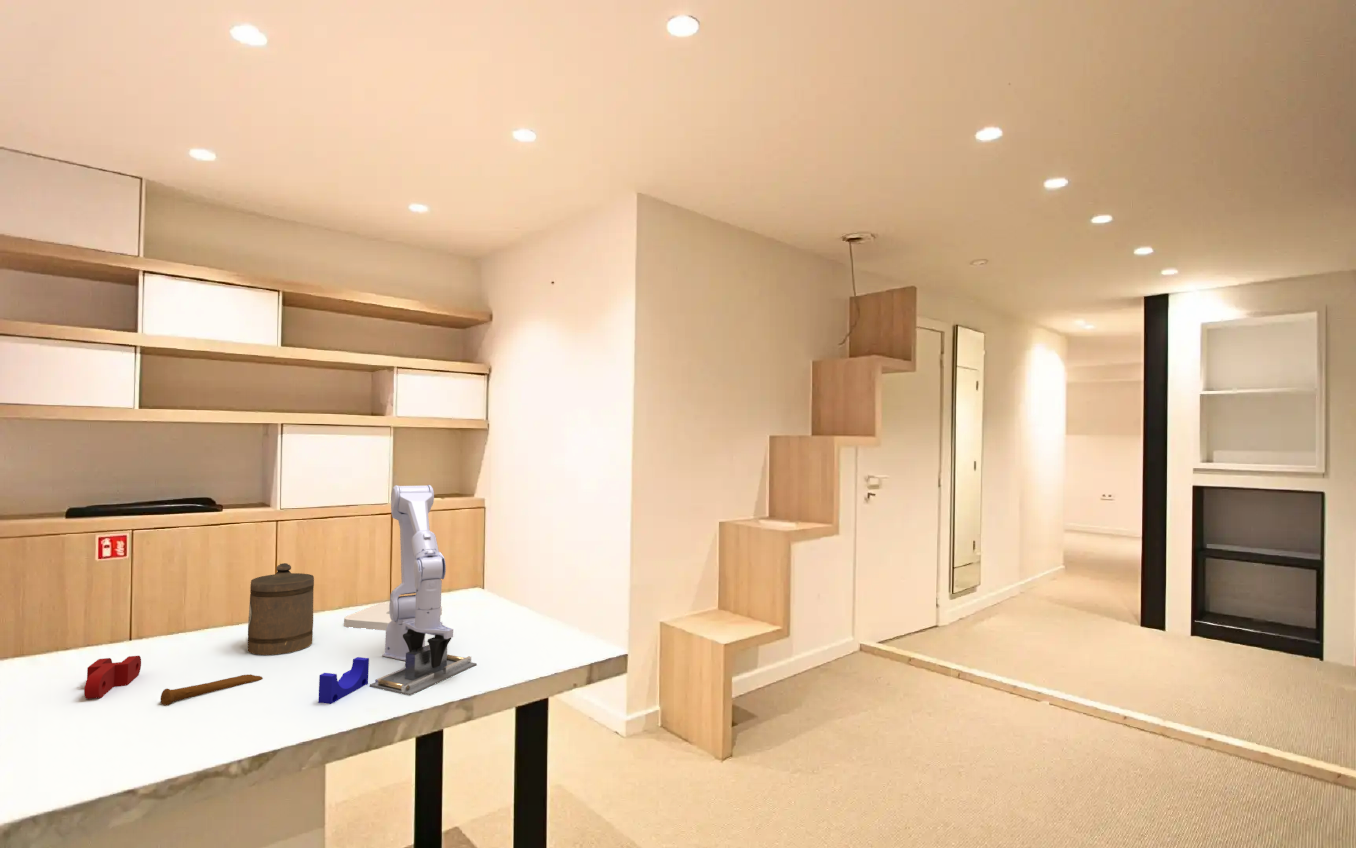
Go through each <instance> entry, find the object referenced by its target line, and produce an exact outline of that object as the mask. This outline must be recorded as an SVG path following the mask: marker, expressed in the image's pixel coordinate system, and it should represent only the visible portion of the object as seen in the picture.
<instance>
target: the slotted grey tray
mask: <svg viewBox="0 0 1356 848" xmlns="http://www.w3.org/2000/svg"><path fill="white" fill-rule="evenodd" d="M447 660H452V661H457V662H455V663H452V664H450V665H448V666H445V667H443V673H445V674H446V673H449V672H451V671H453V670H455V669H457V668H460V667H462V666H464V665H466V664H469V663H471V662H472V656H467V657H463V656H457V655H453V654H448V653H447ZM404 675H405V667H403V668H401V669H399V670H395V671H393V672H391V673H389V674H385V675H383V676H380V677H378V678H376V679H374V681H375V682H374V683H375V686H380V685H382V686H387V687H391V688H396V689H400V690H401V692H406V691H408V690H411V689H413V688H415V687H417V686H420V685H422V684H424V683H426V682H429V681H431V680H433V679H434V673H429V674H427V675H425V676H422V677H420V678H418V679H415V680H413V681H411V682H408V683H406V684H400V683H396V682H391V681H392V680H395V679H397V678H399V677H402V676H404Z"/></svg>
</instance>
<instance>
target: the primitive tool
mask: <svg viewBox="0 0 1356 848" xmlns="http://www.w3.org/2000/svg"><path fill="white" fill-rule="evenodd" d="M263 679H264V678H263V676H261V675H255V674H241V675H238V676H234V677H227V678H223V679H218V680H215V681H212V682H206V683H200V684H197V685H196V684H195V685H191V686H186V687H185V686H184V687H180V688H173V689H170V688H165V689H163V691H162V692H161V695H160V704H161V705H163V706H169V705H171V704H173V703H176V702H177V701H182V700H183V701H184V700H187V699H191V698H195V697H199V696H202V695H207V694H210V693H215V692H218V691H222V690H226V689H230V688H235V687H238V686H243V685H247V684H251V683H257V682H260V681H262V680H263Z"/></svg>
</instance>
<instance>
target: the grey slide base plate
mask: <svg viewBox="0 0 1356 848" xmlns="http://www.w3.org/2000/svg"><path fill="white" fill-rule="evenodd" d="M455 662H457V661H452V660H447V666H448V665H450V664H452V663H455ZM475 666H477V663H476V662H472V661H471V663H469V664H466V665H464V666H462V667H460V668H457V669H455V670H453V671H451V672H449V673H446V674H445V673H443V670H441V671H438V672H436V673H434V679H433V680H431V681H429V682H426V683H424V684H422V685H420V686H417V687H415V688H413V689H411V690H408V691H406V692H401V690H400V689H396V688H391V687H387V686H382V685H380V686H375V682H373V683H371V684H370V683H369V687H371V688H374V689H379V690H383V689H384V690H383V691H389V692H394V693H396V694H401V693H402V695H405V696H412V695H415V694H417V693H419V692H421V691H423V690H425V689H428V688H429V686H430V687H432V686H434V685H436V684H438V683H440V681H441V682H442V680H443V681H445V680H447V679H449V678H451V676H452V677H454V676H456V675H458V674H460V673H462V672H464V671H467V670H469V669H472V668H474V667H475ZM468 668H469V669H468ZM453 675H454V676H453ZM446 678H447V679H446ZM444 679H445V680H444ZM411 681H412V680H408V679H405V675H404V676H402V677H399V678H397V679H395V680H392V681H391V682H396V683H400V684H406V683H408V682H411ZM437 682H438V683H437ZM435 683H436V684H435ZM427 687H428V688H427ZM422 689H423V690H422ZM414 693H415V694H414Z"/></svg>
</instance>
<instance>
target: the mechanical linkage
mask: <svg viewBox="0 0 1356 848" xmlns="http://www.w3.org/2000/svg"><path fill="white" fill-rule="evenodd" d="M141 667H142V658H141V656H140V655H131V656H130V655H129V656H127V657H126V658H125V659H123V660H122V661H119V662H113V660H112V658H111V657H106V658H98V659H97V660H96V661H94V662H93V663H92V664H90V665H89V666H88V667H87V671H86V672H87V674H86V682H85V684H84V694H83V695H84V699H86V700H94V699H95V700H96V699H101V698H103V697H105V696H106V694H108V693H109V692H110V691H111V690H112V689H113V688H117V687H127V686H128V685H130V684H131V683H132V682H133V681H135V679H136V678H138V676H139V675H140V672H141Z"/></svg>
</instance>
